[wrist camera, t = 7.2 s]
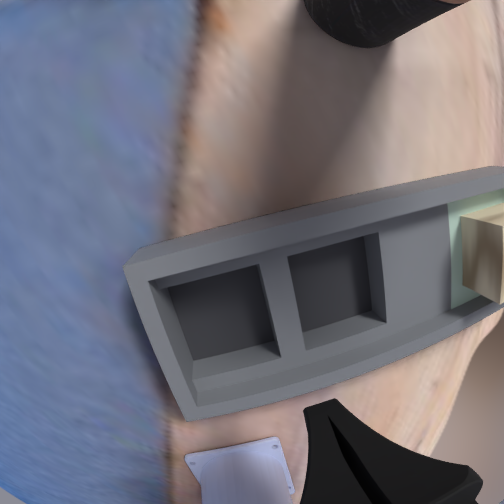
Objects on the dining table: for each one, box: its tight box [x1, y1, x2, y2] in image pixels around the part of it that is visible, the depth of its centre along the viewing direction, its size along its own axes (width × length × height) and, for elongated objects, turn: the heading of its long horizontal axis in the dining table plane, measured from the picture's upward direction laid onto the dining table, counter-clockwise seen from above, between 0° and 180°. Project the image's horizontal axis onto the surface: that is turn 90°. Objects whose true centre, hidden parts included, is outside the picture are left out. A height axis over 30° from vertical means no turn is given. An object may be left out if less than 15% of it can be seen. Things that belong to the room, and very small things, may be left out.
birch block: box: [460, 203, 504, 304], centre depth 17 cm, size 5×5×4 cm
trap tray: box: [123, 166, 504, 422], centre depth 19 cm, size 10×27×4 cm, turn 103°
